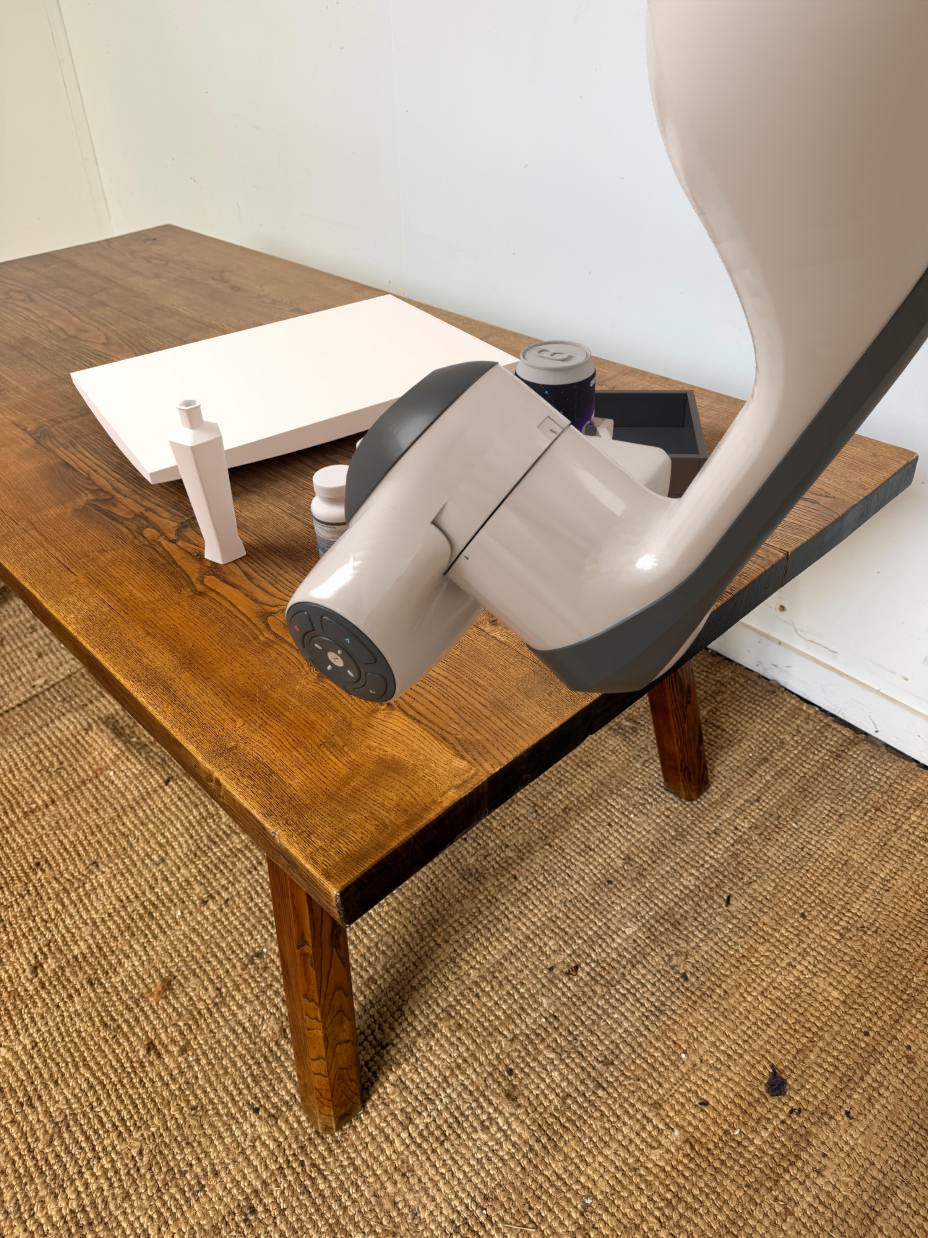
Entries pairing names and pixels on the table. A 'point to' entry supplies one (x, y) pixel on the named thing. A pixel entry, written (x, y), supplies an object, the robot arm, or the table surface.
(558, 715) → the table surface
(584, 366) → the beverage can
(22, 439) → the table surface
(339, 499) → the pill bottle
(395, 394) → the board
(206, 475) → the perfume bottle
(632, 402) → the open box
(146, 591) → the table surface
